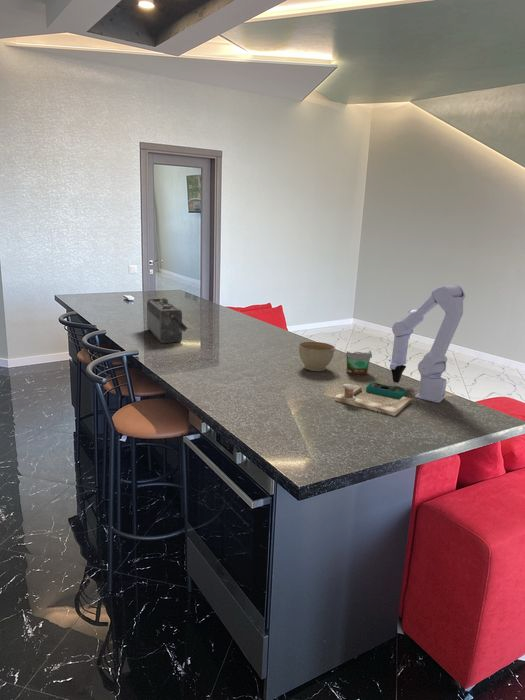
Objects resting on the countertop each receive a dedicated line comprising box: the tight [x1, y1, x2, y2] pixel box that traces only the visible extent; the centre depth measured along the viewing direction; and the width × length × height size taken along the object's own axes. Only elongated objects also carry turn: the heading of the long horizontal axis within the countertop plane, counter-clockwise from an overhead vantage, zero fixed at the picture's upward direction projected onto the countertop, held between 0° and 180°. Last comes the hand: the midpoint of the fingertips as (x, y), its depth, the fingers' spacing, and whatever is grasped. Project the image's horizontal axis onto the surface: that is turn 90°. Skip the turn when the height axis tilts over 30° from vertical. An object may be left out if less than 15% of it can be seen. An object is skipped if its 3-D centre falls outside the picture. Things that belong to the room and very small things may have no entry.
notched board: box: [334, 383, 412, 417], centre depth 180 cm, size 23×18×6 cm
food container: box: [344, 350, 373, 377], centre depth 213 cm, size 12×6×10 cm, turn 105°
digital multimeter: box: [365, 382, 407, 400], centre depth 191 cm, size 7×15×3 cm, turn 60°
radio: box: [146, 297, 189, 344], centre depth 266 cm, size 38×14×20 cm, turn 24°
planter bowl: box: [298, 341, 336, 372], centre depth 218 cm, size 16×16×11 cm
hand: (396, 382), depth 201 cm, fingers closed
